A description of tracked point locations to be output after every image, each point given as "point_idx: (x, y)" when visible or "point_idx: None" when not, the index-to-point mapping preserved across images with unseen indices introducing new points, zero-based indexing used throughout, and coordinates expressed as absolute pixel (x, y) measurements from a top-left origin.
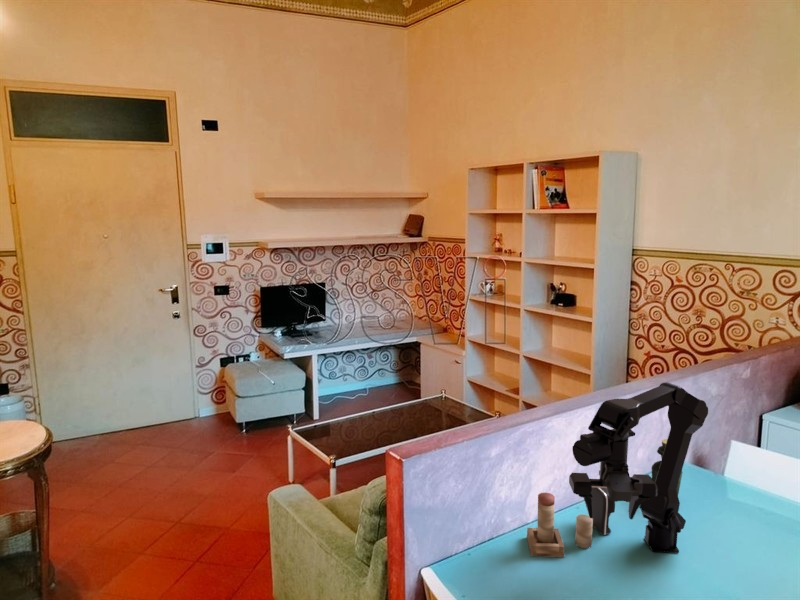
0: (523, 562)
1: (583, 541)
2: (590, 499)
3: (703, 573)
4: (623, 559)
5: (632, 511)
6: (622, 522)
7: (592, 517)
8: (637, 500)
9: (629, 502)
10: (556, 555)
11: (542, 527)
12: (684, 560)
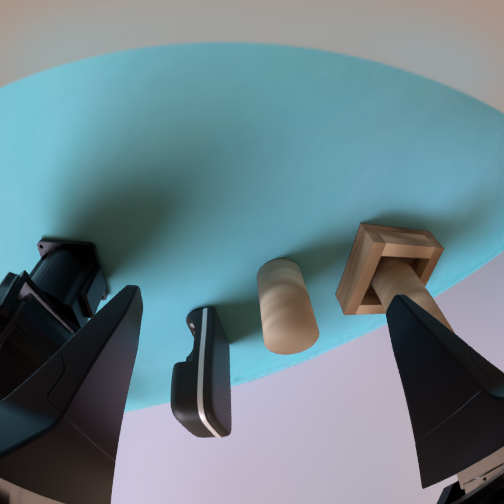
0: (453, 210)
1: (292, 273)
2: (498, 393)
3: (4, 164)
4: (183, 210)
5: (109, 330)
6: (150, 342)
7: (226, 354)
8: (31, 426)
9: (124, 403)
10: (380, 227)
11: (430, 295)
12: (31, 212)
